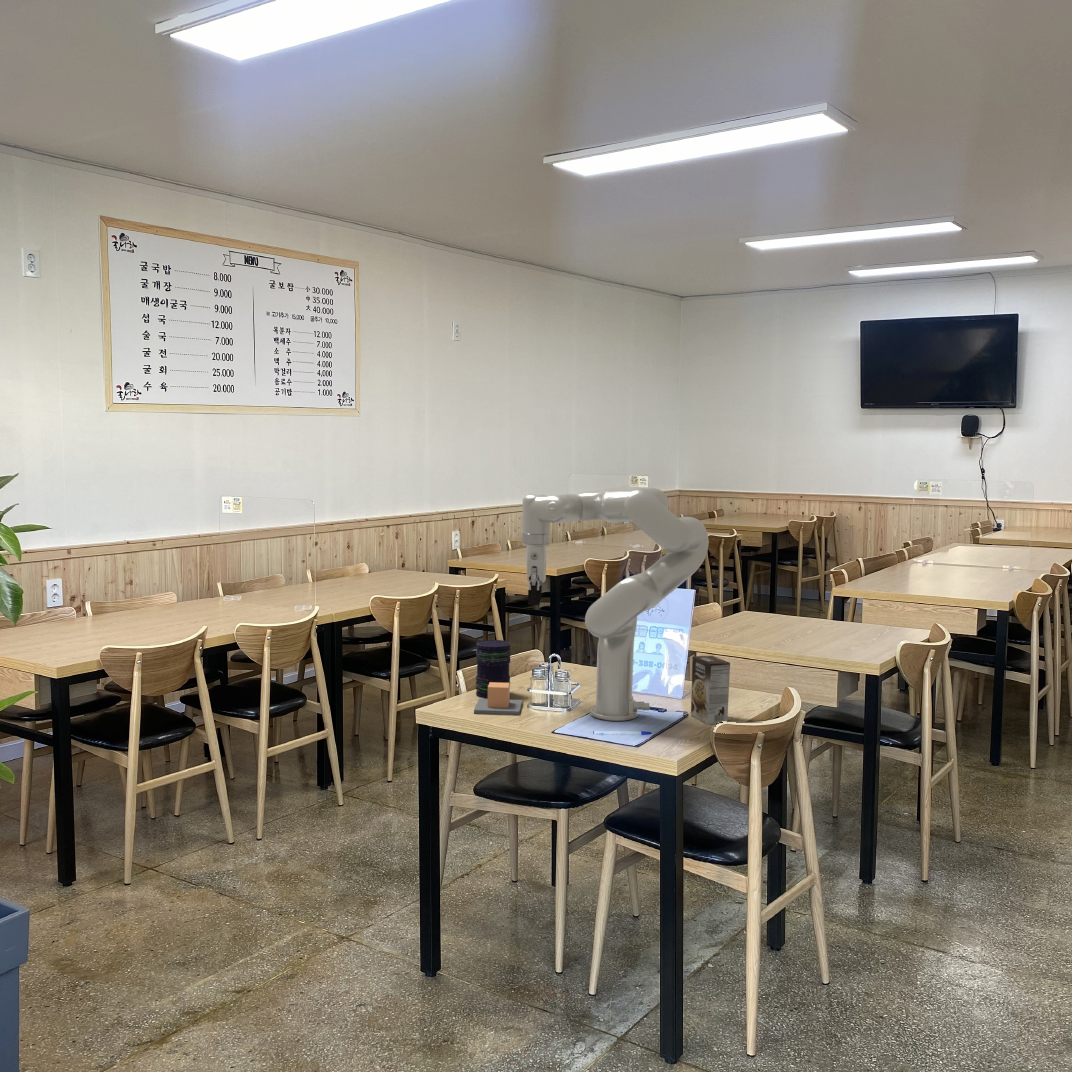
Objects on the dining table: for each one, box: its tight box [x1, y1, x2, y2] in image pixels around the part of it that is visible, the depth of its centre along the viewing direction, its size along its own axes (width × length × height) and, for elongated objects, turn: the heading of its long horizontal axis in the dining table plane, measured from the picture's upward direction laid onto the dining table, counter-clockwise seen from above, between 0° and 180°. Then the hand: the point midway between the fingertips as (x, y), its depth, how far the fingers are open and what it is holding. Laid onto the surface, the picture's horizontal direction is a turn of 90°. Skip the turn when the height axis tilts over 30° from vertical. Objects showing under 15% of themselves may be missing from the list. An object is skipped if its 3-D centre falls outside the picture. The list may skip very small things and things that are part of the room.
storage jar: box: [475, 639, 512, 699], centre depth 283 cm, size 10×10×15 cm
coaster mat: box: [473, 698, 523, 716], centre depth 268 cm, size 12×12×1 cm
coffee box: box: [690, 655, 731, 725], centre depth 261 cm, size 9×6×16 cm
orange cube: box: [488, 682, 511, 708], centre depth 268 cm, size 6×6×6 cm
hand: (534, 602), depth 272 cm, fingers open, 9 cm apart
